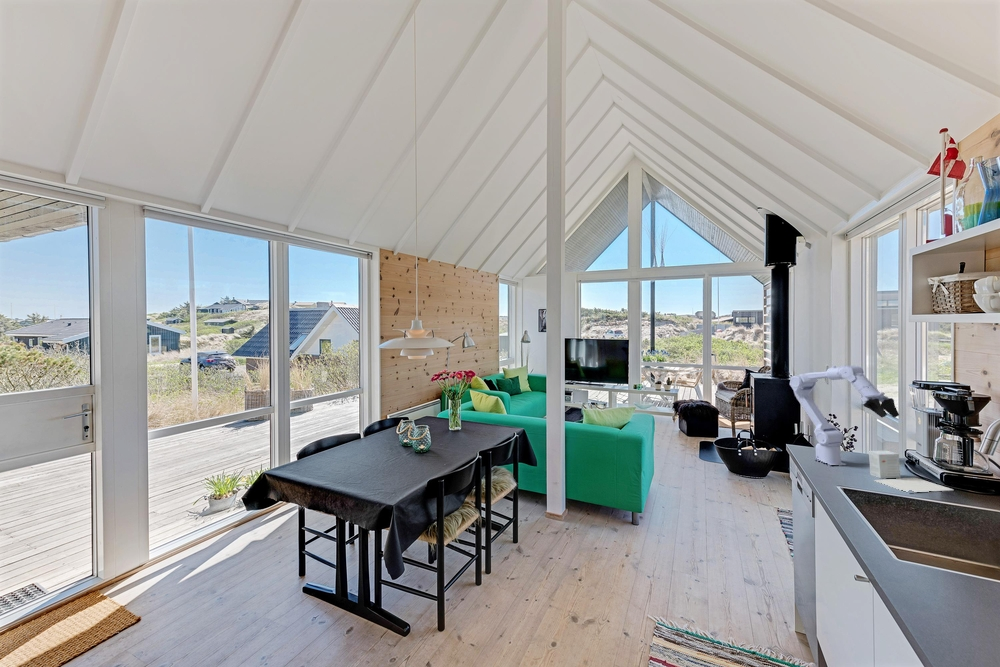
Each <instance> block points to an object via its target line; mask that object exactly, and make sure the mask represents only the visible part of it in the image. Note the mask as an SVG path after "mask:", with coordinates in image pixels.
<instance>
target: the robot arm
mask: <svg viewBox="0 0 1000 667" xmlns="http://www.w3.org/2000/svg"><path fill="white" fill-rule="evenodd" d="M819 379H829V380H830V381H838V380H847V381H848V382H849V383H850V384H852V386H853V387H854V388H855V389H856V390H857V391H858V393H859V394H860V395H861V396H862V397H861V398H860V400H861V401H862V402H863V404H862V405H863V407H865V408H867V409H869V410H871V411H872V412H874V413H875V414H876V415H877V416H879V417H880V418H881V419H883V418H884V417H886V416H888V414H889V415H890V416H891V417H893V418H897V417H899V416H900V414H899V411H898V409H897V407H896V405H895V400H894V399H893V398H890V397H888V396H886V395H885V392H882V391H881V392H880V391H879V390H878V389H877V388H876V387H875V386H874V384H873V383H872V382H871V381H870V379H868V378H867V376H866V375H865V374H864V369H863V367H861V366H859V365H855V364H854V365H847V364H846V365H845V364H844V365H841V366H838V367H837V366H836V365H835V366H831V367H829V368H827V370H826V371H816V372H814V371H813V372H805V373H801V374H797V375H793V376H791V377H790V381H789V386H790V387H791V389H792V390H793V394H794V397H795V398H796V400H797V401H798V402H799V404H800V405H801V407H802V408H803V410H804V411H805V413H806V415H808V418H809V419H810V420H811V422H812V423H813V425H814V426H815V427H814V431H813V433H814V435H815V439H816V441H817V443H816V445H815V448H814V449H815V459H816V458H817V459H819V460H821V461H823V462H825V463H828V464H830V465H839V466H846V465H847V463H844V462H842V456H841V453H842V452H841V445H842V443H843V442H844V440H845V436H844V434H843V432H841V431H840V430H839V429H837V427H836V426H835V425H833V424H831V423H829V421H828V420H827V419H826V417H825V415H823V413H822V412H821V410H820V409H819V407H818V406H817V404H816V403H815V401H814V399H813V398H812V397H811V396H810V394H811V392H812V390H813V389H814V388H815V386H816V383H818V380H819Z"/></svg>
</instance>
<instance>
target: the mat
mask: <svg viewBox="0 0 1000 667" xmlns="http://www.w3.org/2000/svg"><path fill="white" fill-rule="evenodd" d="M873 481H874V482H875V481H876V482H875V483H878V482H879V483H878V484H881V483H882V484H881V485H884V484H885V485H884V486H886V485H888V486H887V487H889V486H890V487H889V488H892V487H893V488H892V489H895V488H896V490H898V489H899V490H898V491H901V490H903V491H906V492H908V491H909V490H912V491H914V492H928V493H930V492H929V491H942V492H953V491H954V489H953V488H950V487H947V486H943V485H940V484H938V483H937V484H936V483H935V482H930V481H927V480H925V479H922V478H917V477H903V478H901V477H900V478H896V479H874V480H873ZM903 491H902V492H903ZM906 492H905V493H906Z"/></svg>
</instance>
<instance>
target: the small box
mask: <svg viewBox="0 0 1000 667" xmlns="http://www.w3.org/2000/svg"><path fill="white" fill-rule="evenodd" d="M899 455H900V454H899V453H897V452H893V451H891V450H887V449H886V450H869V451H868V458H869V473H870V475H871V476H873V477H875V476H876V478H877V477H878V478H877V479H879V480H885V479H884V478H896V479H899V478H901V469H900V468H901V466H900V456H899Z"/></svg>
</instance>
